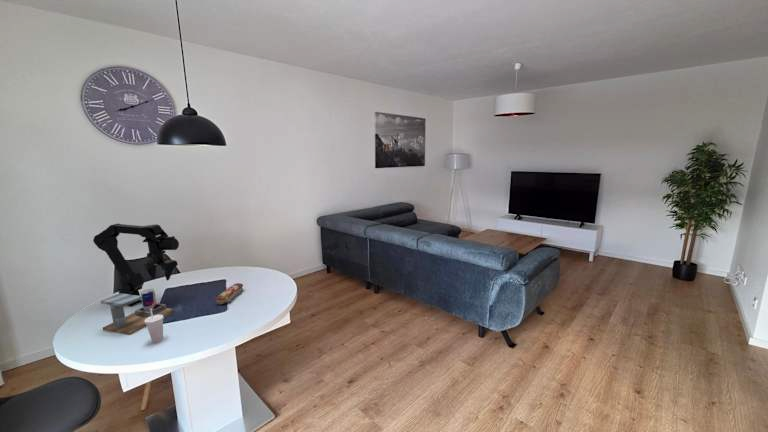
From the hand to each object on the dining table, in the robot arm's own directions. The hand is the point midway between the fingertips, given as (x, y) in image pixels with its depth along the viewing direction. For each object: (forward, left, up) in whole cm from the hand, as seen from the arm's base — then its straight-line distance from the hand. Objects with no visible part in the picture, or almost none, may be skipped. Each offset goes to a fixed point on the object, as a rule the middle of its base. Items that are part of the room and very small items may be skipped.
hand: (160, 279), depth 161 cm
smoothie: (+28, -27, -13) cm, 41 cm away
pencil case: (+29, +14, -14) cm, 35 cm away
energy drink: (+5, -11, -13) cm, 18 cm away
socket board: (+5, -17, -13) cm, 22 cm away
